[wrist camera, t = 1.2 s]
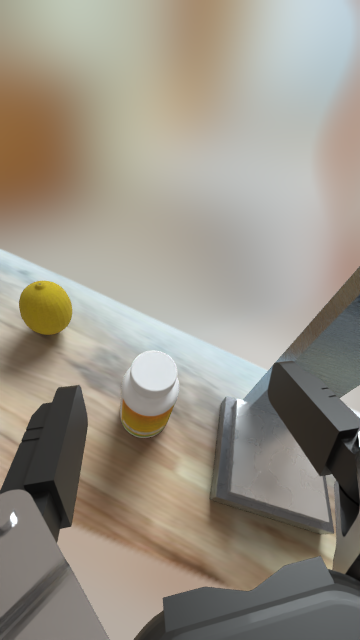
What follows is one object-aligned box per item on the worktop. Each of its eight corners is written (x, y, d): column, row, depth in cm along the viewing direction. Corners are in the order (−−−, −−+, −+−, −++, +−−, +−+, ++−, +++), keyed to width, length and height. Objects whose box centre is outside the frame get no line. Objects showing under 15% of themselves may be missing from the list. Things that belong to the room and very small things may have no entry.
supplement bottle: (173, 433, 27) (194, 393, 20) (123, 444, 26) (126, 406, 19) (162, 387, 31) (177, 340, 24) (117, 395, 29) (118, 346, 22)
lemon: (24, 321, 33) (5, 273, 27) (68, 310, 36) (59, 264, 30) (34, 353, 31) (15, 307, 25) (81, 338, 33) (74, 294, 27)
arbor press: (209, 499, 24) (431, 391, 7) (222, 395, 32) (344, 224, 15) (359, 546, 24) (942, 546, 7) (335, 430, 31) (590, 297, 15)
